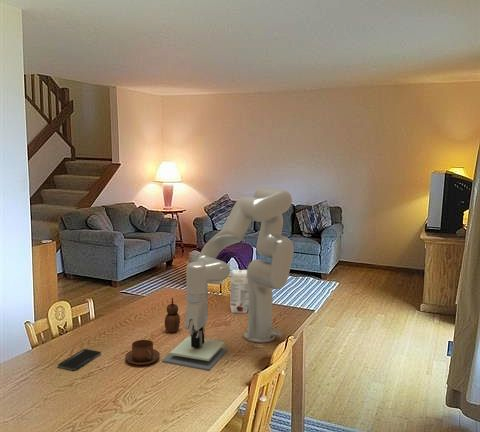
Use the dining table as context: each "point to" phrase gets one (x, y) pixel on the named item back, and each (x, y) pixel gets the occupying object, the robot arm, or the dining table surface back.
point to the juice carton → (239, 291)
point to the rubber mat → (195, 360)
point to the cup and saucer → (142, 353)
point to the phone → (79, 360)
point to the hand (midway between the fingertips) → (197, 344)
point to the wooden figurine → (172, 318)
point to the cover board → (200, 353)
